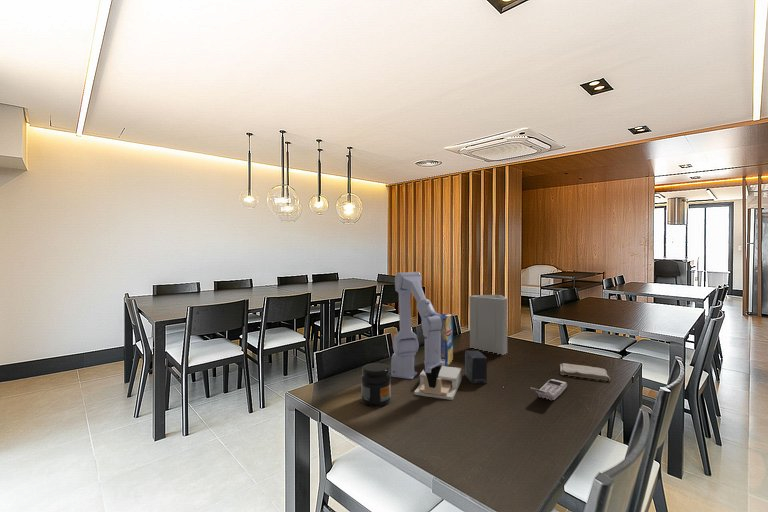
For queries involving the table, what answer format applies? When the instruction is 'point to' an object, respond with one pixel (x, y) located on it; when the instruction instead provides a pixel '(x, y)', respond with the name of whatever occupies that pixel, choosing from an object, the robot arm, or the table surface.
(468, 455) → the table surface
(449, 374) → the ticket dispenser
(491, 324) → the grey tall box
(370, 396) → the supplement container
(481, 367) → the small box
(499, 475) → the table surface
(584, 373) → the washcloth
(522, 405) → the table surface
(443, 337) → the beverage box
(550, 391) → the mobile phone
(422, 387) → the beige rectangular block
